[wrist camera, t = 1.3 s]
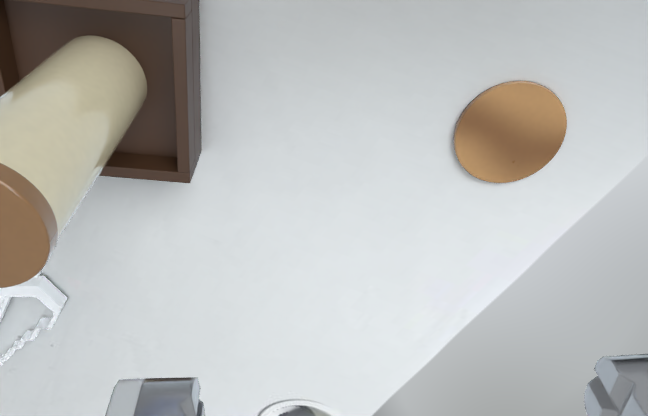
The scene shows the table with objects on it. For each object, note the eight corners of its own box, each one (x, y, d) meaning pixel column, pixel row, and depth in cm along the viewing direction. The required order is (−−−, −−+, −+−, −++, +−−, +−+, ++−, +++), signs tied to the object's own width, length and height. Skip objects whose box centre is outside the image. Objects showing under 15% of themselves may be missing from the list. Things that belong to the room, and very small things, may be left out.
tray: (4, -36, 33) (-36, -20, 29) (199, -14, 34) (184, 4, 30) (38, 137, 39) (9, 168, 36) (201, 151, 40) (190, 183, 37)
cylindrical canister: (43, 28, 33) (-141, 157, 19) (145, 39, 33) (34, 172, 20) (59, 120, 36) (-89, 284, 23) (152, 128, 36) (60, 294, 23)
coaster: (469, 75, 37) (470, 77, 37) (581, 86, 38) (584, 88, 38) (442, 175, 42) (443, 178, 41) (543, 184, 42) (545, 187, 42)
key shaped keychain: (33, 365, 53) (25, 380, 52) (-21, 347, 51) (-31, 361, 50) (77, 279, 47) (69, 293, 45) (18, 255, 45) (8, 268, 44)
